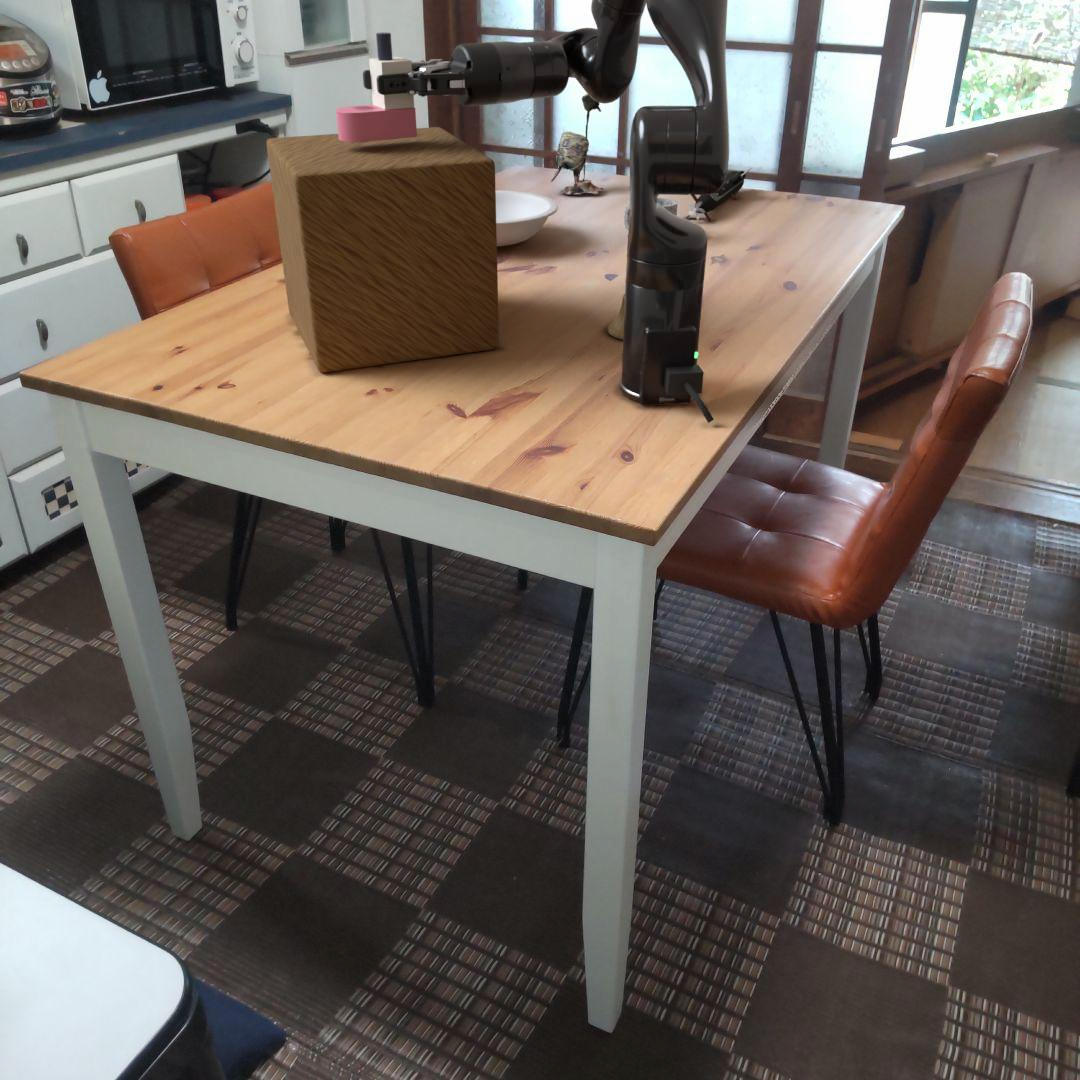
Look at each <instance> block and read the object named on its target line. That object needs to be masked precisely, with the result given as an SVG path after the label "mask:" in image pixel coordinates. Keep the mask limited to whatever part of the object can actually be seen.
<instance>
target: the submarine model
mask: <svg viewBox="0 0 1080 1080" xmlns="http://www.w3.org/2000/svg"><path fill="white" fill-rule="evenodd" d="M751 169H752V168H749V169H747V170H746V171H744V170H740V171H737V170H734V171H733V170H732V171H729V172H727V175H726V179H725V182H724V184H723V186H722V187H721V189H720V190H719V191H717V192H716V193H713V194H707V195H699V196H698V198H697V195H690V196H691V198H692V199H693V200H694V201H695V204H694V203H693V202H692V201H690V202H689V209H690V211H688V212H687V214H688V215H687V216H686V217H685V219H686V220H688V219H689V218H690V217H692V216H694V215H695V218H696V220H697V221H698V220H699V219H700V216H701V215H700V214H703V215H704V216H705V218H706V219H707V220H708V222H709V223H710V222H712V221H713V219H712V217H711V216H710V215H709V212H711V211H712V212H713V211H714V210H716V209H718V208H719V207H721V205H723V204H725V202H726V201H728V200H729V199H730V198H732V197H734V198H735V200H737V199H739V198H738V196H737V194H738V192H739V191H740V190H741V189H742V188H743V186H744V184H745V179H746V176H747V173H749V171H750V170H751Z"/></svg>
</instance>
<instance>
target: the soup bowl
mask: <svg viewBox="0 0 1080 1080" xmlns="http://www.w3.org/2000/svg"><path fill="white" fill-rule="evenodd" d="M495 190H496V232H497V247H505V246H511V245H516V244H519V243H522V242H524V241H527V240H529V239H531V238H532V237H534V236H535V235H536V234H537V233H538V232H539V231H540V230H541V229H542V228H543V226H544V225H545V224H546V222H547V220H548V219H549V217H551V216H553V215H555V213H557V212H558V210H559V209H558V208H559V206H558V203H557V202H556V201H555V200H554V199H552V198H550V197H547V196H544V195H541V194H537V193H533V192H528V191H519V190H508V189H507V190H504V189H495Z"/></svg>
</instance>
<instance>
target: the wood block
mask: <svg viewBox="0 0 1080 1080" xmlns="http://www.w3.org/2000/svg"><path fill="white" fill-rule="evenodd" d="M266 152H267V159H268V167H269V174H270V180H271V188H272V196H273V203H274V211H275V218H276V225H277V232H278V239H279V248H280V254H281V261H282V269H283V276H284V284H285V291H286V292H285V293H286V298H287V305H288V306H287V307H288V312H289V315H290V316H291V318H292V320H293V322H294V325H295V326H296V329H297V331H298V333H299V334H300V337H301V338H302V341H303V343H304V345H305V347H306V350H307V351H308V353H309V355H310V357H311V359H312V360H313V363H314V365H315V367H316V369H317V371H318V372H320V373H331V372H339V371H346V370H352V369H360V368H368V367H374V366H380V365H389V364H395V363H396V364H397V363H402V362H411V361H419V360H426V359H433V358H441V357H445V356H446V357H448V356H455V355H460V354H461V355H462V354H468V353H469V354H470V353H477V352H482V351H483V352H484V351H492V350H496V349H498V348H499V346H500V324H499V323H500V321H499V318H500V317H499V281H498V280H499V279H498V278H499V277H498V246H497V232H496V190H497V189H496V165H495V161H494V159H492V158H491V157H489V156H487V155H486V154H485V153H482V152H481V151H479V150H478V149H476V148H475V147H473V146H471V145H470V144H469V143H466V142H464V141H463V140H461V139H459V138H458V137H456V135H453V134H451V133H449V131H447V130H445V129H444V128H441V126H440V127H439V126H434V127H433V126H432V127H420V128H419V127H418V128H417V137H410V138H399V139H389V140H379V141H369V142H344V141H341V140H339V137H338V133H329V134H328V133H327V134H314V135H313V134H312V135H299V136H283V137H282V136H281V137H271V138H268V139H267V140H266Z"/></svg>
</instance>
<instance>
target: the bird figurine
mask: <svg viewBox="0 0 1080 1080" xmlns="http://www.w3.org/2000/svg"><path fill="white" fill-rule="evenodd" d="M581 102H582V105H583V107H584V110H585V111H586V124H585V135H582V134H579V133H575V132H572V131H568V130H567V131H566V130H563V132H562V134H561V136H560V138H559V142H558V145H557V146H558V147H557V150H556V155H555V161H556V165H557V166H558V168H557V169H556V171H555V173H554V174H553V176H552V177H551V178H550V183H553V182H554V180H556V178H557V177H558V175H559V174H560V172H561V171H562V169H565V170H569V171H571V172H572V173H573V180H574V184H573V185H568V186H566V187H565V188H564V189H563V191H562V192H561V194H562V195H568V196H569V195H570V196H571V195H582V194H584V193H585V194H589V193H590V194H594V195H598V194H599V193H600V192H601V191H603V190H604V187H602V186H601V187H599V186H597V185H596V184H594V183H592V180H591V179H585V176H586V162H587V161H586V160H587V159H586V158H587V157H588V152H589V148H590V142H589V138H588V129H589V120H590V112H592V111H593V110H594V111H595V110H598V112H600V113H601V112H602V109H601V107H600V103H599V102H597V101H595V100H593V99H592V98H591V97H590V96H589V95H588V94H587V93H586V94H584V95H583V96H582V97H581ZM582 170H583V179H580V177H581V172H582Z"/></svg>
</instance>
